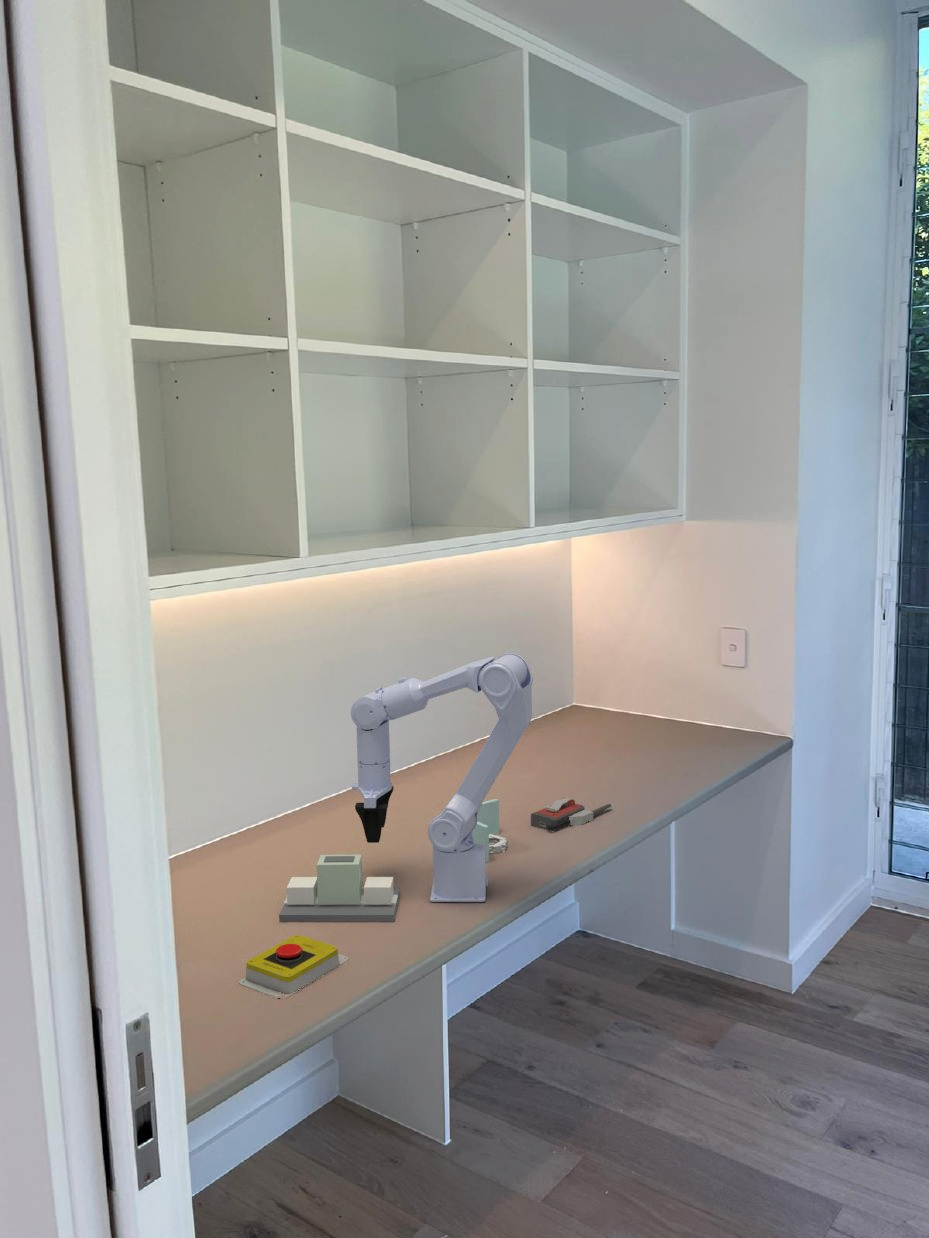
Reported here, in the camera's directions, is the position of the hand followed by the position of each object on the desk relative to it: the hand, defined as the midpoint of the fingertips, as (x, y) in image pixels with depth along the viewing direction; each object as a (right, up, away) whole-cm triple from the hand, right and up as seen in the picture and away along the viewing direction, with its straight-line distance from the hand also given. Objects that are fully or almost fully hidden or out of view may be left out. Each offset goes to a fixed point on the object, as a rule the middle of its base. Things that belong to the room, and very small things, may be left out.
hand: (375, 834), depth 189 cm
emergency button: (-10, -15, -30) cm, 35 cm away
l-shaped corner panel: (+21, -7, +19) cm, 29 cm away
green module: (-5, -9, -9) cm, 14 cm away
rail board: (-5, -11, -8) cm, 15 cm away
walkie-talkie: (+38, -4, +35) cm, 52 cm away
